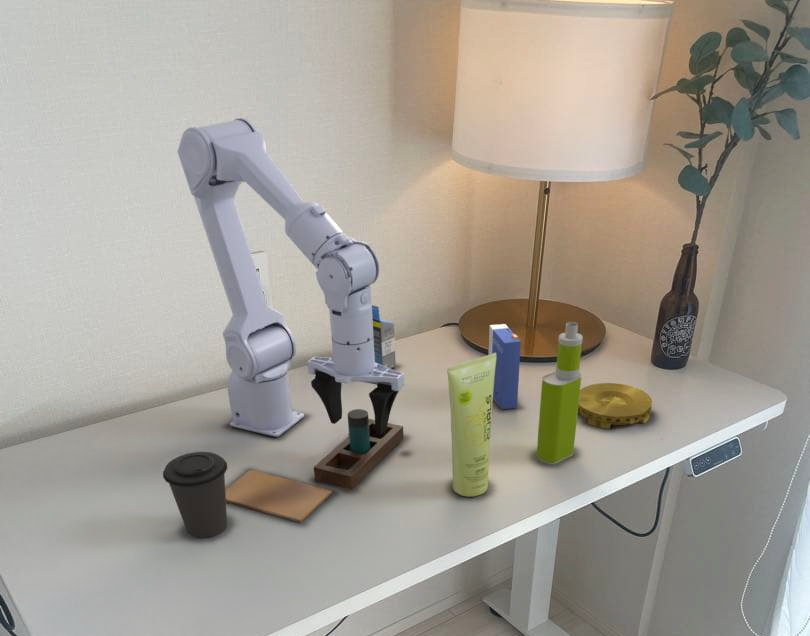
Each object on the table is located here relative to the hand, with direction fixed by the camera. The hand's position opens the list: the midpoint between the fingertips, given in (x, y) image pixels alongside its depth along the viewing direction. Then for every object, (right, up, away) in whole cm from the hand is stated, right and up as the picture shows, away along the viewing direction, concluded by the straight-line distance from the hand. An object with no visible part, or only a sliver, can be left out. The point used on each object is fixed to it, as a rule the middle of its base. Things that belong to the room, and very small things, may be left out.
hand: (358, 425), depth 117 cm
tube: (+16, -10, -4) cm, 19 cm away
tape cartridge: (+1, +15, +31) cm, 35 cm away
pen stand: (0, -5, +3) cm, 6 cm away
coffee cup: (-20, -15, -10) cm, 27 cm away
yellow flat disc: (+40, +4, +13) cm, 43 cm away
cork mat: (-12, -10, -5) cm, 16 cm away
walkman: (+23, +7, +18) cm, 30 cm away
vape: (+29, -4, +3) cm, 30 cm away
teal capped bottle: (0, -5, +3) cm, 6 cm away
